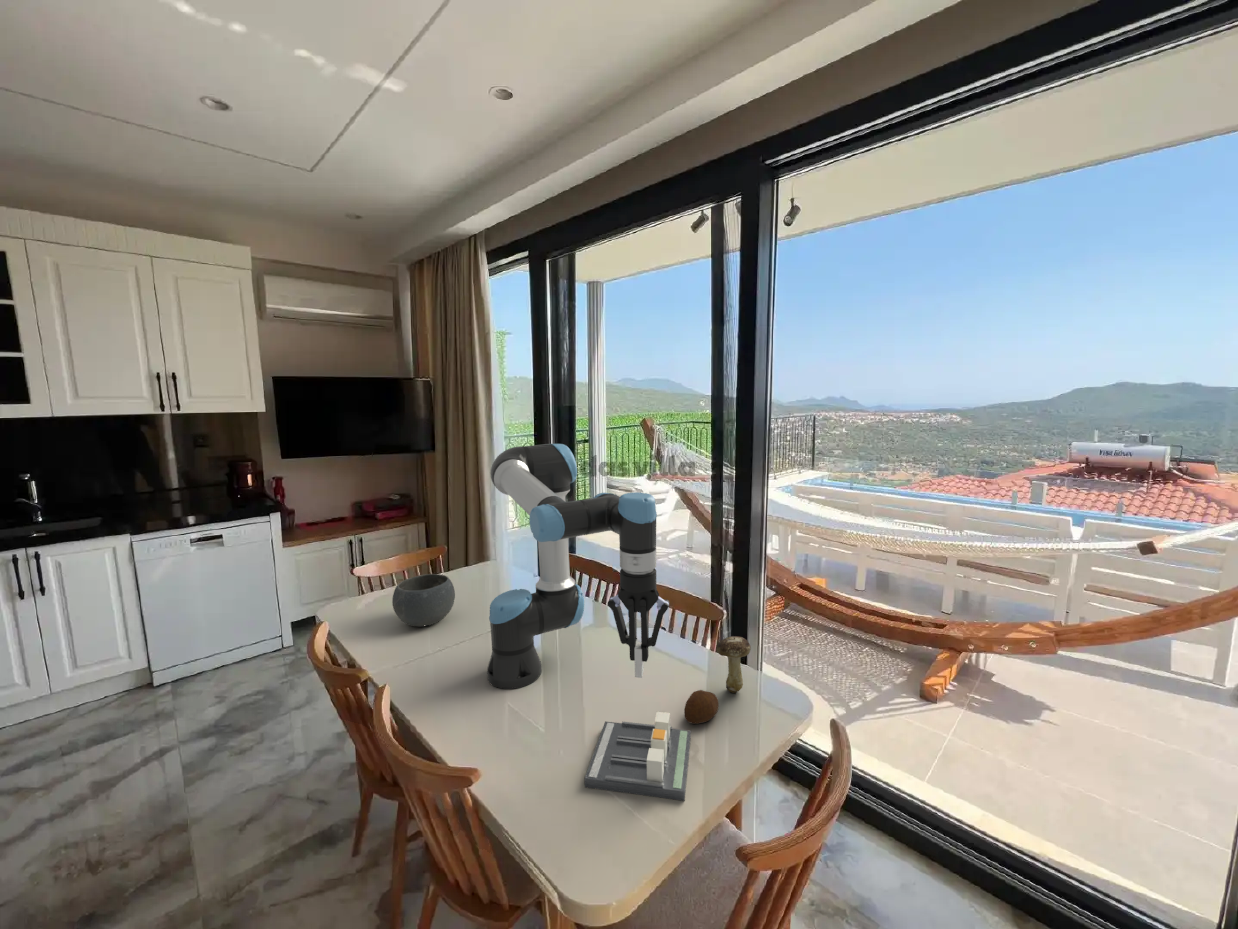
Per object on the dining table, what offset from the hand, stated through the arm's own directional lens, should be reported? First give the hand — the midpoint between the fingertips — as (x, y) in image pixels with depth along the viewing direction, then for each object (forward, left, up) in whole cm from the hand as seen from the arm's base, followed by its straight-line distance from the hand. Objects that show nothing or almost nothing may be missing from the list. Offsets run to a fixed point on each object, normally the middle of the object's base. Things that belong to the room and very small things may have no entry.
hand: (639, 673), depth 108 cm
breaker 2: (+4, -8, -17) cm, 19 cm away
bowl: (-86, +53, -19) cm, 103 cm away
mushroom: (+20, +27, -19) cm, 39 cm away
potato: (+13, +15, -19) cm, 28 cm away
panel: (0, -2, -19) cm, 19 cm away
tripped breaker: (+4, -2, -17) cm, 17 cm away
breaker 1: (+4, +4, -17) cm, 18 cm away
